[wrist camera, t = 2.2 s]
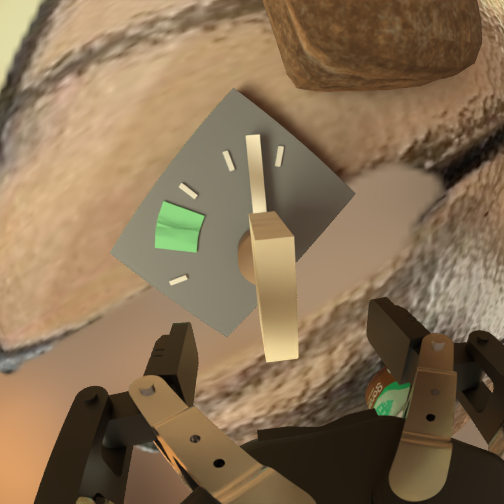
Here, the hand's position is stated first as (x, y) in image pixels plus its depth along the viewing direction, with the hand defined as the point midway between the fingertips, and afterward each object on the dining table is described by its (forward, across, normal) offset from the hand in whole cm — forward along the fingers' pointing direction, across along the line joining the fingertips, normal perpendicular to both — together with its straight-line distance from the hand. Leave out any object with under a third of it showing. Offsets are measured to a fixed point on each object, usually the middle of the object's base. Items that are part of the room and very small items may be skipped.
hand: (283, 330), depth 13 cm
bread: (+14, -8, -28) cm, 32 cm away
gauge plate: (+14, +2, -2) cm, 14 cm away
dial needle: (+12, 0, -3) cm, 12 cm away
